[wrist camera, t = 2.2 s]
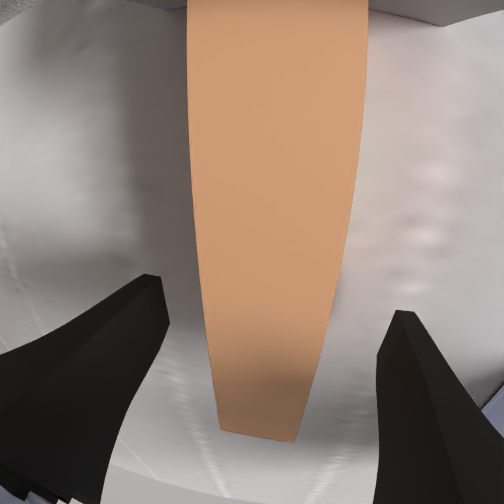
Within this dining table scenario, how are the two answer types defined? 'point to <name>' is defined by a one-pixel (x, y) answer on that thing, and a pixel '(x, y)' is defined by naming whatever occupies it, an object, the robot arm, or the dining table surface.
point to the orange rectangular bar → (272, 191)
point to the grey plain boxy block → (399, 3)
